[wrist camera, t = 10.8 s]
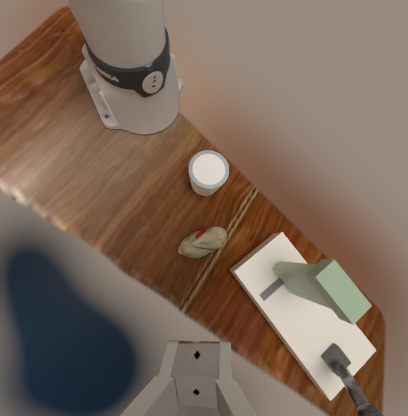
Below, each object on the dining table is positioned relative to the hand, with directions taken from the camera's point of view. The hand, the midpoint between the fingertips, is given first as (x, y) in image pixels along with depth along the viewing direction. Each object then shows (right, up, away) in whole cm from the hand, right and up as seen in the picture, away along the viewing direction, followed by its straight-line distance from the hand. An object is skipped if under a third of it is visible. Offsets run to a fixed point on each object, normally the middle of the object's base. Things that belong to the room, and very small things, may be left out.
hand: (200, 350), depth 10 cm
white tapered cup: (0, +12, +32) cm, 34 cm away
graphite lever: (+20, -17, +21) cm, 34 cm away
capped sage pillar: (+14, -5, +25) cm, 29 cm away
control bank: (+16, -11, +28) cm, 34 cm away
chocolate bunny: (-1, 0, +29) cm, 29 cm away
